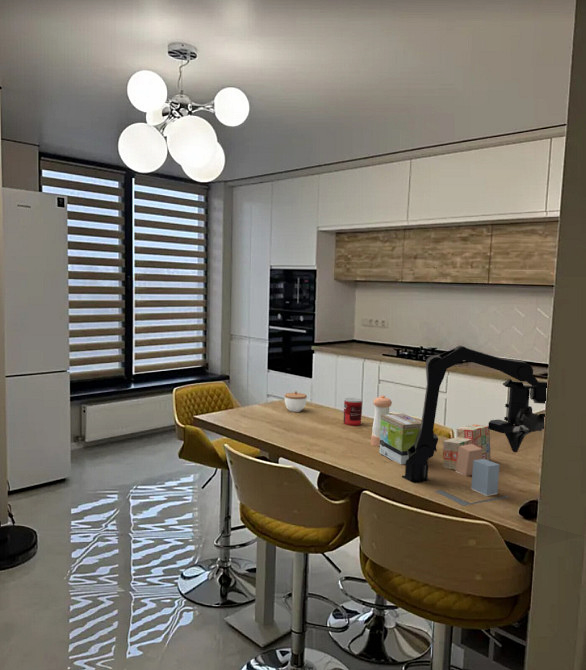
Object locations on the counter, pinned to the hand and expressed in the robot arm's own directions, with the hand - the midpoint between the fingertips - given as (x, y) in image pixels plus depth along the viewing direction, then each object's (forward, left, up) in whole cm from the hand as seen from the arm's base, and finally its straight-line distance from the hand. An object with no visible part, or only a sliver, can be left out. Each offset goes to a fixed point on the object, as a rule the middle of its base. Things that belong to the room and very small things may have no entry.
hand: (514, 452), depth 173 cm
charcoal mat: (-17, 0, -11) cm, 20 cm away
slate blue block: (-12, 0, -11) cm, 16 cm away
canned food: (-2, +87, -12) cm, 88 cm away
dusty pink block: (-4, +15, -11) cm, 19 cm away
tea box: (-14, +37, -12) cm, 41 cm away
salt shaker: (-10, +55, -12) cm, 57 cm away
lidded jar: (-14, +119, -12) cm, 120 cm away
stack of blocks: (+4, +23, -11) cm, 26 cm away
